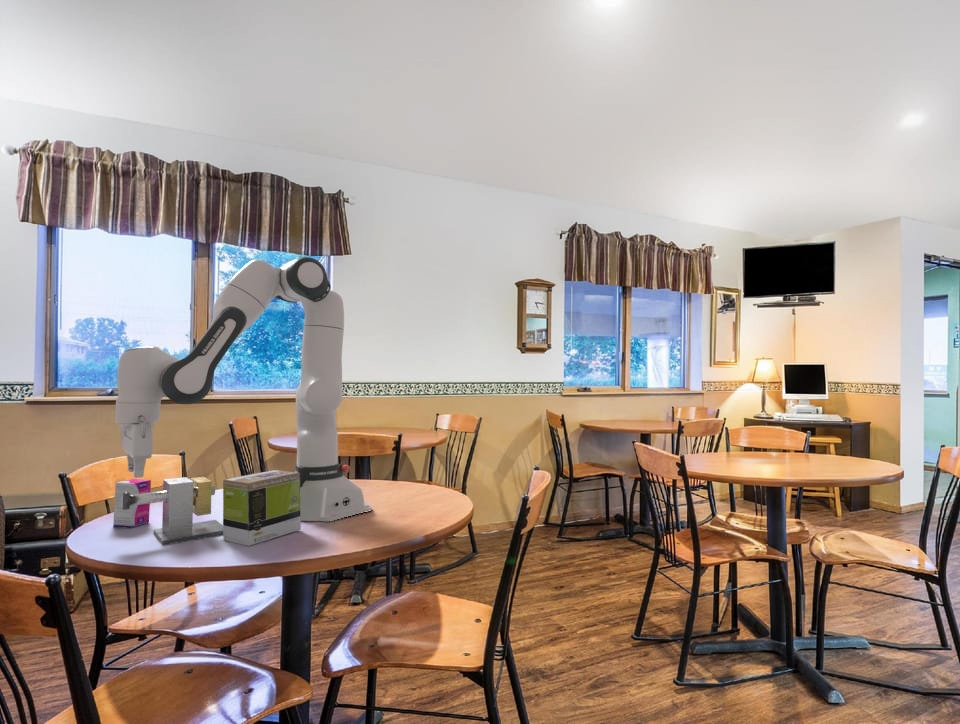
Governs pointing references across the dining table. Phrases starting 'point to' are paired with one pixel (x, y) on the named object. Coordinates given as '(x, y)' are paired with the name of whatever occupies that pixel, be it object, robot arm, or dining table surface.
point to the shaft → (149, 498)
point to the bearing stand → (182, 515)
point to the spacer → (202, 496)
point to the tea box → (261, 506)
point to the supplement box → (134, 513)
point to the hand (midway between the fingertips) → (135, 474)
